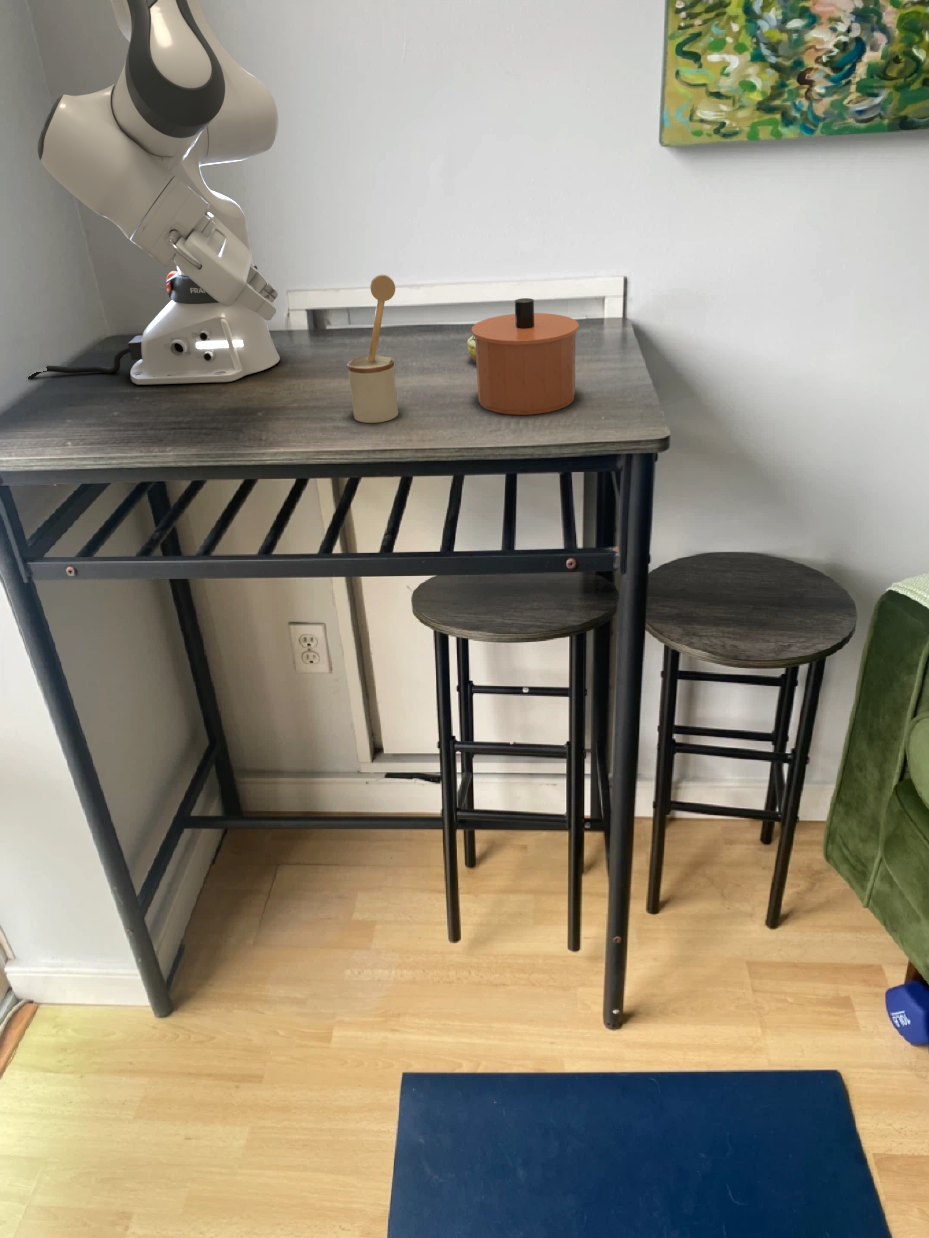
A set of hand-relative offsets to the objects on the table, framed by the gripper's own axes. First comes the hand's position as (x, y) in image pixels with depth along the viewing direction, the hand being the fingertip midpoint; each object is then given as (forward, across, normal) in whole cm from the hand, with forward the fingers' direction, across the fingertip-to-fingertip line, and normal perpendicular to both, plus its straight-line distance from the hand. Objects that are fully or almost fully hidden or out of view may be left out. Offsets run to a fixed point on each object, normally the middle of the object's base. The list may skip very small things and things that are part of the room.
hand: (274, 306), depth 114 cm
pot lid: (+26, 0, -18) cm, 31 cm away
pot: (+32, 0, -12) cm, 34 cm away
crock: (+18, 0, +3) cm, 18 cm away
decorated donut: (+33, +19, -12) cm, 40 cm away
